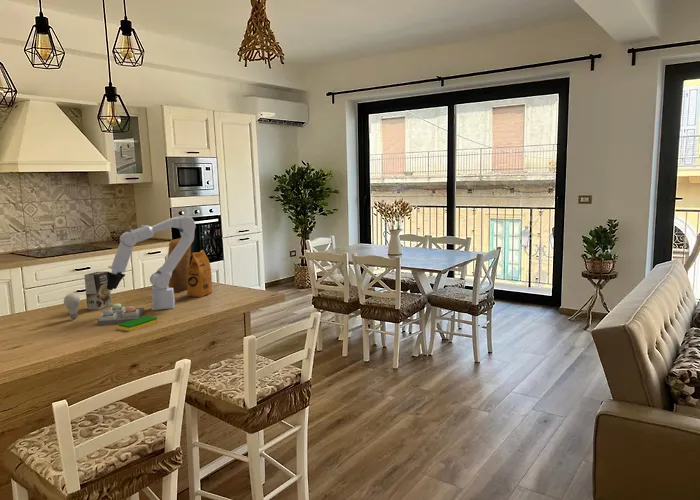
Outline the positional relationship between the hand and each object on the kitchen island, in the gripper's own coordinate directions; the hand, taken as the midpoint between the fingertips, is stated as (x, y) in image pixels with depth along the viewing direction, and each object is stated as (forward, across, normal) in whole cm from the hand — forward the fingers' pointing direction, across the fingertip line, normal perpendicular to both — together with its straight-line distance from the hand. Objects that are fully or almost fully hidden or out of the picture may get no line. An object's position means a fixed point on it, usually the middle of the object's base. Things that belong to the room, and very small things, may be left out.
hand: (111, 289), depth 218 cm
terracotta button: (+6, +7, +11) cm, 14 cm away
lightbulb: (+16, 0, -10) cm, 19 cm away
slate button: (+9, +10, +4) cm, 14 cm away
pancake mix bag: (-4, -43, +26) cm, 50 cm away
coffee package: (-5, -30, +36) cm, 47 cm away
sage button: (+7, 0, +5) cm, 9 cm away
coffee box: (+12, -18, -5) cm, 22 cm away
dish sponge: (+9, +19, +17) cm, 27 cm away
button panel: (+10, +4, +8) cm, 14 cm away
